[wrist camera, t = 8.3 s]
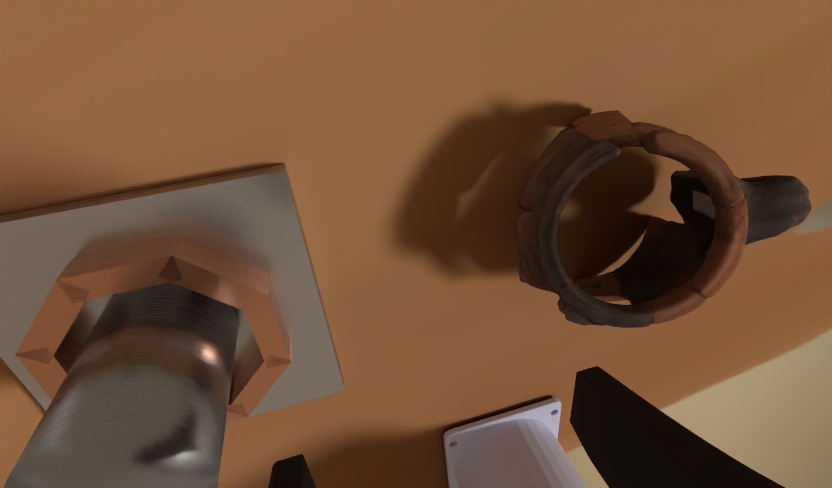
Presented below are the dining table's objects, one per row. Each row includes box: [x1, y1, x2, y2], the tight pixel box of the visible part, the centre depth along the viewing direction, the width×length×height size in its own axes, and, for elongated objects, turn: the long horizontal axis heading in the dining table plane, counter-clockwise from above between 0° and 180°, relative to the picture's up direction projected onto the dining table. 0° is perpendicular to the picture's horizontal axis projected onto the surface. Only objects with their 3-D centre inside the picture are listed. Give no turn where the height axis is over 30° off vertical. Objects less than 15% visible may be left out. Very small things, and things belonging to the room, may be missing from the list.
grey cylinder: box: [4, 282, 238, 488], centre depth 15 cm, size 5×5×7 cm
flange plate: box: [0, 163, 345, 423], centre depth 18 cm, size 12×12×2 cm
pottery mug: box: [515, 111, 811, 328], centre depth 19 cm, size 12×10×8 cm
